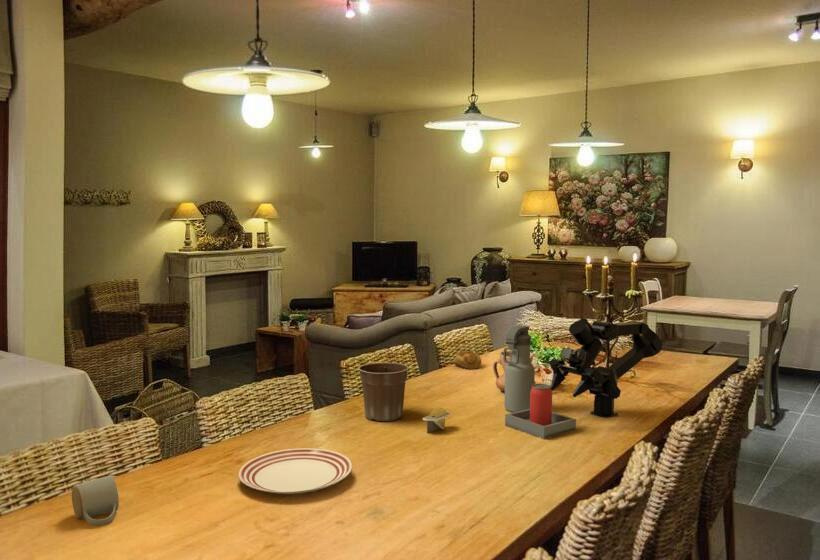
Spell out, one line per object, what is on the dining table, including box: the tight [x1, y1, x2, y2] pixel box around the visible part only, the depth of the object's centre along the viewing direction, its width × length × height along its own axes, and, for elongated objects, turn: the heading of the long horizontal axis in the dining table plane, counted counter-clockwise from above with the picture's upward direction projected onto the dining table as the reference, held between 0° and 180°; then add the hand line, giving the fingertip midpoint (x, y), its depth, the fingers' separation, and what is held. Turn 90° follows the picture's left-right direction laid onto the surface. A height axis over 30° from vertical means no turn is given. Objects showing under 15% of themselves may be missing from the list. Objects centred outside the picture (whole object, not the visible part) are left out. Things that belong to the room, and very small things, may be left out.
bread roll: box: [453, 350, 482, 370], centre depth 294 cm, size 13×10×8 cm
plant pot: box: [357, 362, 410, 422], centre depth 221 cm, size 16×16×16 cm
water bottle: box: [503, 324, 536, 413], centre depth 228 cm, size 10×10×28 cm
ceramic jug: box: [492, 350, 538, 393], centre depth 253 cm, size 18×14×14 cm
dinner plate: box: [238, 447, 353, 495], centre depth 169 cm, size 28×27×3 cm
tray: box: [504, 409, 577, 440], centre depth 210 cm, size 14×16×4 cm
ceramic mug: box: [71, 474, 120, 526], centre depth 147 cm, size 11×8×8 cm
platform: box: [422, 407, 451, 434], centre depth 207 cm, size 12×18×7 cm, turn 140°
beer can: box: [530, 383, 553, 426], centre depth 209 cm, size 7×7×12 cm
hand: (562, 393), depth 213 cm, fingers open, 9 cm apart
